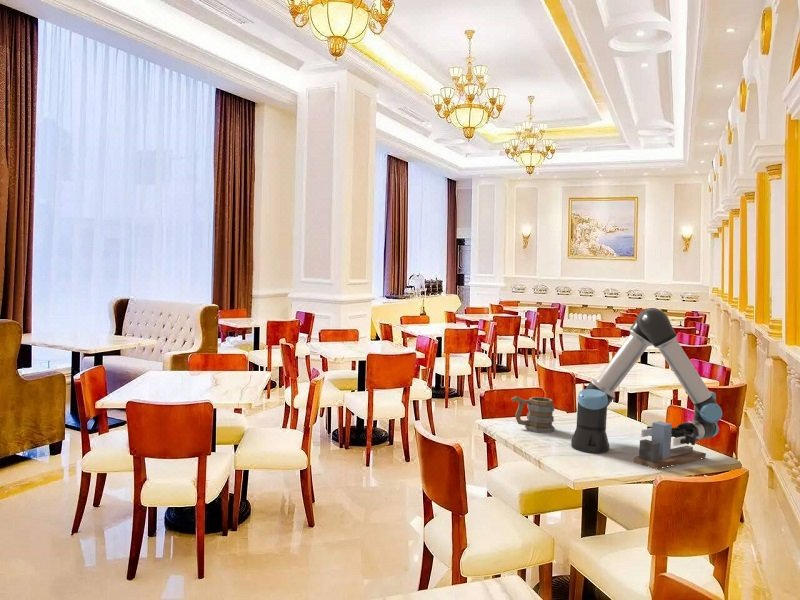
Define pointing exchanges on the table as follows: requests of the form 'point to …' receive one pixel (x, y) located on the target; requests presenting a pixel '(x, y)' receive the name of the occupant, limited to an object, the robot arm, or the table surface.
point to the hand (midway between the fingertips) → (657, 437)
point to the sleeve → (662, 438)
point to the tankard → (536, 414)
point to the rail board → (678, 456)
